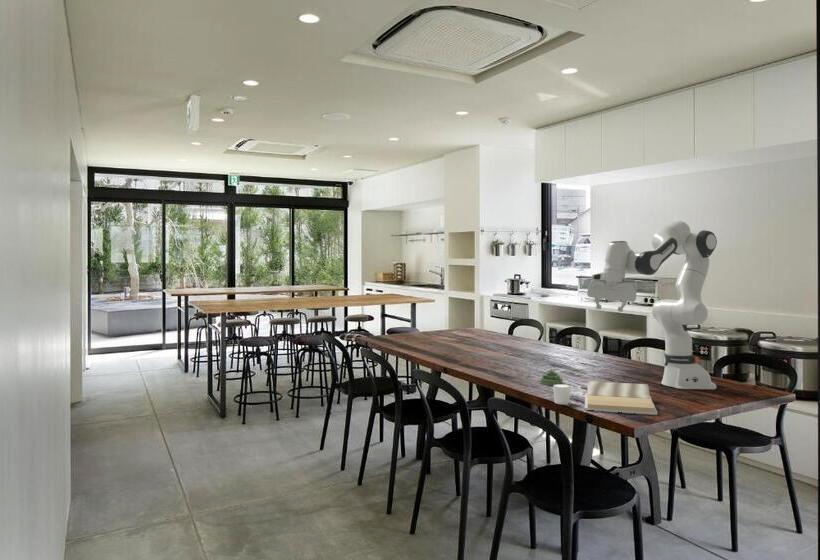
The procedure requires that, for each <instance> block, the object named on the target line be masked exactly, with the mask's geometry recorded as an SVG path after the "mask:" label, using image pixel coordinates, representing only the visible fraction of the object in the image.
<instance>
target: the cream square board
mask: <svg viewBox="0 0 820 560" xmlns="http://www.w3.org/2000/svg"><path fill="white" fill-rule="evenodd" d="M587 410H594V411H593V412H602V411H603V412H606V413H618V412H620V413H621V412H622V413H621V414H634V413H635V414H637V415H651V416H652V415H653V416H657V415H658V413H659V412H658V410H657V408H656V406H655V403H654V401H653V399H652V397H651V396H650V399H648V398H630V397H612V396H594V395H588V398H587V392H584V411H587Z"/></svg>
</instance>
